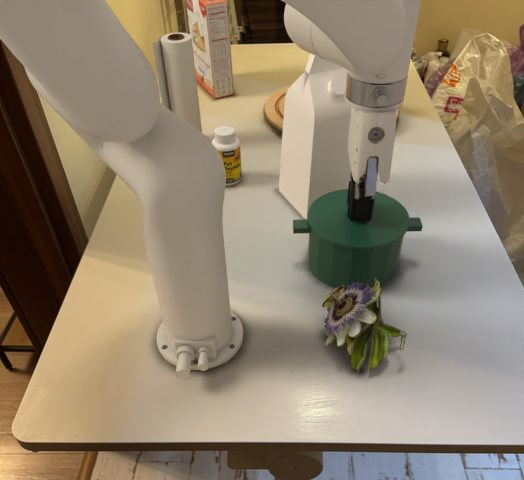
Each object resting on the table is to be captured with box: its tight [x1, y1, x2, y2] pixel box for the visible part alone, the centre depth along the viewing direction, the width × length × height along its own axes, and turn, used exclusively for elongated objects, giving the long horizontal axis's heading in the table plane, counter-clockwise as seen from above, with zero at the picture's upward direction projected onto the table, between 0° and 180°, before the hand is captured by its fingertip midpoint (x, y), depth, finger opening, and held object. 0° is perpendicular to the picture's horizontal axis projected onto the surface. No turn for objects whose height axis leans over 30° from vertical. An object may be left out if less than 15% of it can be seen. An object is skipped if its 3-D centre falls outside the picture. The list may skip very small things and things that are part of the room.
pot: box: [292, 217, 424, 290], centre depth 83 cm, size 15×20×8 cm
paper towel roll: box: [151, 32, 203, 133], centre depth 108 cm, size 7×6×21 cm
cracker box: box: [185, 0, 235, 100], centre depth 128 cm, size 14×6×21 cm, turn 25°
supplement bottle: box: [211, 125, 243, 187], centre depth 101 cm, size 6×6×10 cm
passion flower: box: [321, 278, 408, 373], centre depth 72 cm, size 11×11×12 cm
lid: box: [308, 175, 410, 250], centre depth 78 cm, size 16×16×7 cm
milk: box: [278, 53, 352, 219], centre depth 90 cm, size 12×12×26 cm
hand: (358, 211), depth 79 cm, fingers closed on lid, 3 cm apart
